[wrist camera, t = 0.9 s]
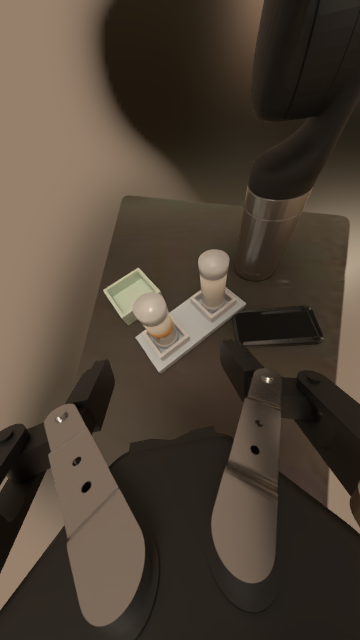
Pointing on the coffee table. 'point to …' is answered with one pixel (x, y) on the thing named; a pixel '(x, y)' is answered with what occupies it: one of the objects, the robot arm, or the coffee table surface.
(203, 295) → the cylinder
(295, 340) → the phone
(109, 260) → the coffee table surface
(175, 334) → the cylinder
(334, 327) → the coffee table surface
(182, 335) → the fuse board
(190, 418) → the coffee table surface
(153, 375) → the coffee table surface
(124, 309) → the tray
